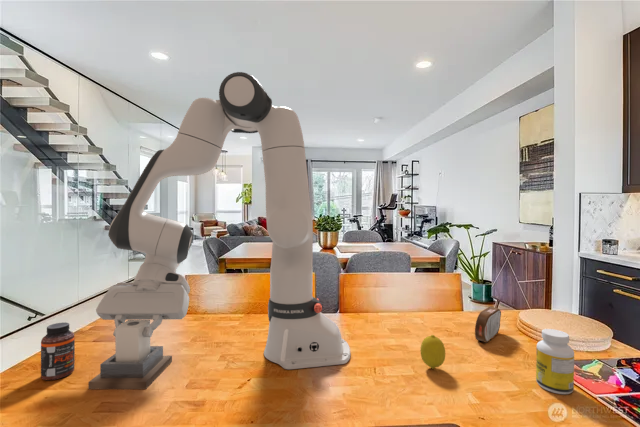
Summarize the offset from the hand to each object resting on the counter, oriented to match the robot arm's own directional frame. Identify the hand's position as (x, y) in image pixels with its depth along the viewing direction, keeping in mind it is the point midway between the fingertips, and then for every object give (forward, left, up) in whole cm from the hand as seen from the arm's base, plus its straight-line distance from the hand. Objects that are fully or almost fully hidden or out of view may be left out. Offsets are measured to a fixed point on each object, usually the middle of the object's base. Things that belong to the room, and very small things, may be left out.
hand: (131, 336), depth 72 cm
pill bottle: (-92, +5, -9) cm, 93 cm away
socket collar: (0, -1, -7) cm, 8 cm away
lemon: (-69, -3, -9) cm, 70 cm away
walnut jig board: (0, -1, -9) cm, 9 cm away
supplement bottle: (+17, -1, -9) cm, 19 cm away
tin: (-92, -21, -9) cm, 95 cm away
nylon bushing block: (0, -1, -7) cm, 7 cm away
